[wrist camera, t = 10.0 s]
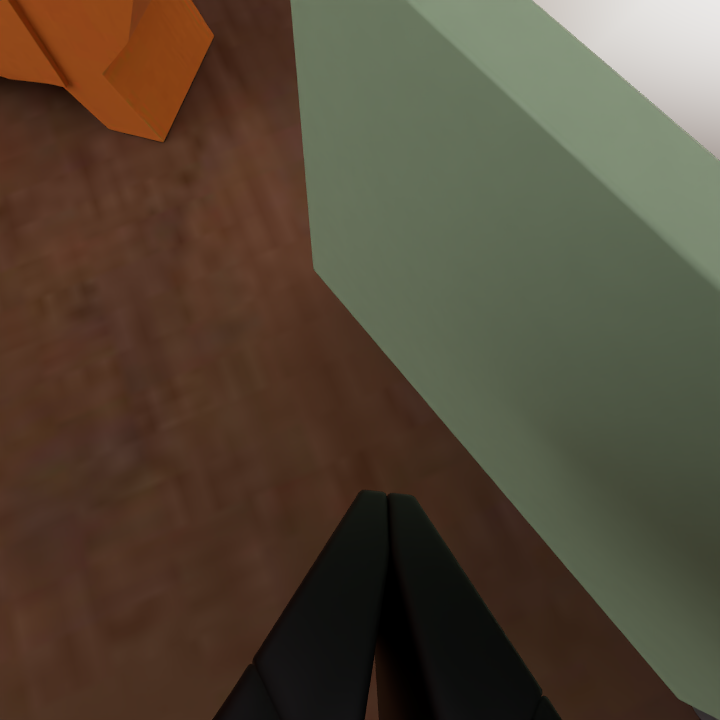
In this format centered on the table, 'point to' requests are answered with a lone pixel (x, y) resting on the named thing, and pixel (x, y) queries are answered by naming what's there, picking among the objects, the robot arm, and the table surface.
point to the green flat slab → (535, 286)
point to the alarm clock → (108, 55)
